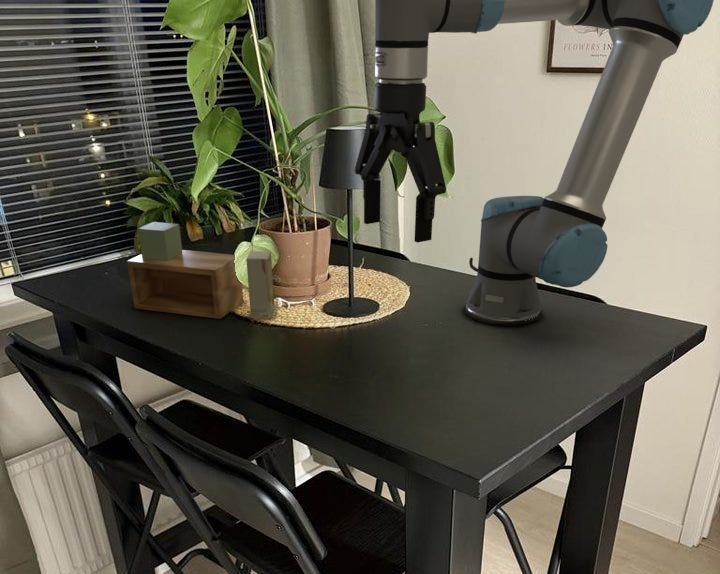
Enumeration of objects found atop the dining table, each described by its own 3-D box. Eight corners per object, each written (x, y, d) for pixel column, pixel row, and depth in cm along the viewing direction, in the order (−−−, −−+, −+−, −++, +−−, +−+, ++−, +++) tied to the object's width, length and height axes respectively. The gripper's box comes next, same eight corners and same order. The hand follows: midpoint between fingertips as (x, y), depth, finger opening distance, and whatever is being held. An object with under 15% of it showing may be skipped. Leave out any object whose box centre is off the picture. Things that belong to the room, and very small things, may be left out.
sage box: (157, 250, 160) (153, 221, 156) (182, 253, 158) (179, 223, 155) (142, 258, 155) (137, 228, 152) (167, 261, 153) (163, 230, 150)
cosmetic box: (271, 319, 153) (267, 259, 147) (250, 319, 153) (245, 259, 147) (275, 308, 159) (271, 250, 152) (254, 308, 159) (250, 250, 152)
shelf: (161, 292, 167) (155, 246, 162) (243, 301, 162) (239, 255, 157) (134, 308, 159) (126, 260, 153) (220, 319, 153) (215, 270, 148)
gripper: (332, 76, 116) (334, 218, 127) (434, 89, 98) (426, 253, 110) (372, 74, 119) (370, 213, 131) (478, 86, 102) (466, 245, 113)
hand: (396, 231), depth 120 cm, fingers open, 13 cm apart
